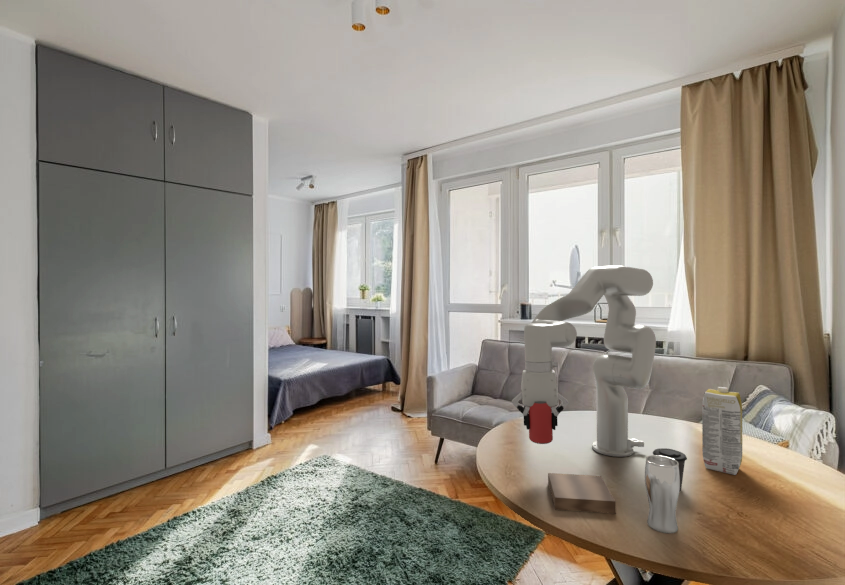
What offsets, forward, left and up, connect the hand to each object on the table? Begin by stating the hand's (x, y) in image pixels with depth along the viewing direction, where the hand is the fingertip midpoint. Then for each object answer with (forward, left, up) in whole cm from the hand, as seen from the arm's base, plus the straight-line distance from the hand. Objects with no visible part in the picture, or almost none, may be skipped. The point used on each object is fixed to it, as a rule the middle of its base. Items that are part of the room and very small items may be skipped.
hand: (540, 427), depth 124 cm
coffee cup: (-33, +2, -14) cm, 36 cm away
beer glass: (-24, +22, -14) cm, 36 cm away
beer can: (0, 0, -4) cm, 4 cm away
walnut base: (-8, +11, -14) cm, 20 cm away
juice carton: (-53, -13, -14) cm, 57 cm away
